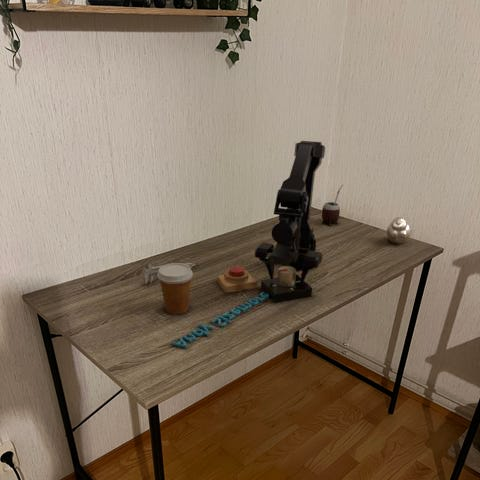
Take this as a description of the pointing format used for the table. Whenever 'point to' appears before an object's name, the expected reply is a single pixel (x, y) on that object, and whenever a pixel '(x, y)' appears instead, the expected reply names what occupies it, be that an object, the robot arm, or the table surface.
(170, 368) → the table surface
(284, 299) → the dial console
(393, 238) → the silver spiral shell
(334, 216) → the mate gourd
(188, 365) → the table surface
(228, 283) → the button block
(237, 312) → the nameplate
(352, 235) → the table surface
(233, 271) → the button
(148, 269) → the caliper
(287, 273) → the knob
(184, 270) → the disposable coffee cup
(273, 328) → the table surface
